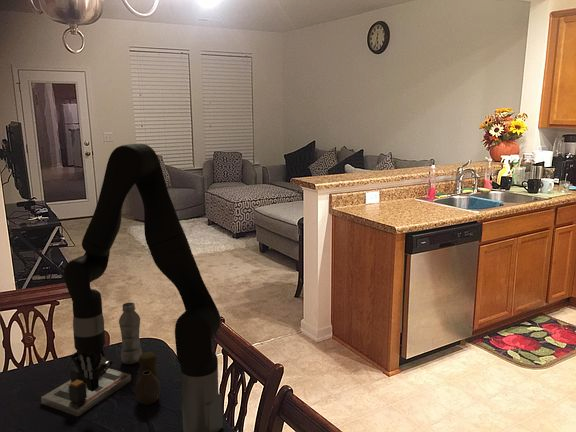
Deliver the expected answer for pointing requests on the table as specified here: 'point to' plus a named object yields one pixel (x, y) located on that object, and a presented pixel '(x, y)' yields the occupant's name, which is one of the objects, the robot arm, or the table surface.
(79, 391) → the breaker handle
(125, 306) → the plastic bottle
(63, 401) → the breaker panel
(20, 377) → the table surface
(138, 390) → the vase
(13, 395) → the table surface
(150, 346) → the table surface
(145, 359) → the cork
